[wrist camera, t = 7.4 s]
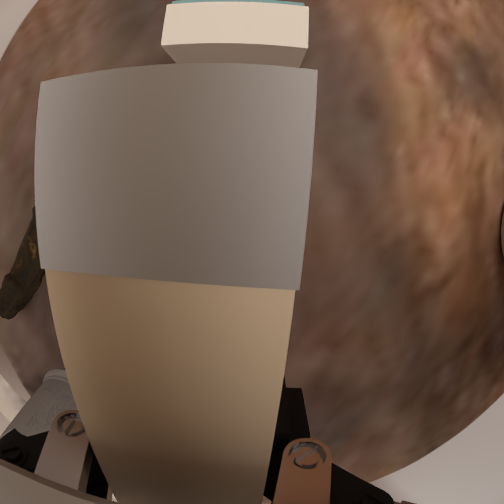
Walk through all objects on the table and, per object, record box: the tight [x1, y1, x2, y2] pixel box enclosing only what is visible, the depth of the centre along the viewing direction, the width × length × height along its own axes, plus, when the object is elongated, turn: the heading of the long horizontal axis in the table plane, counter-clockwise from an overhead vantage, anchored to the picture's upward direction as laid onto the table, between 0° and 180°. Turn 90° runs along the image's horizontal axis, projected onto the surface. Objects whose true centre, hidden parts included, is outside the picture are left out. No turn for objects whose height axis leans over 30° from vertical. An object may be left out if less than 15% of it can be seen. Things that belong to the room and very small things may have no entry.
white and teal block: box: [161, 0, 309, 68], centre depth 17 cm, size 7×3×10 cm, turn 87°
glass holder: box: [0, 369, 78, 446], centre depth 24 cm, size 9×14×15 cm, turn 73°
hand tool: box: [0, 207, 45, 319], centre depth 24 cm, size 19×4×5 cm, turn 137°
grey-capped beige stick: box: [35, 63, 318, 504], centre depth 9 cm, size 4×18×6 cm, turn 176°
